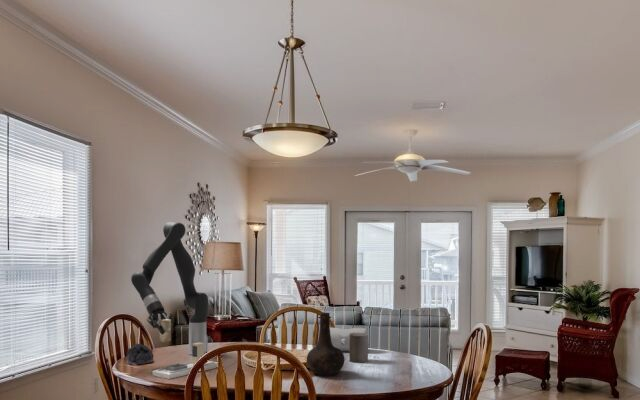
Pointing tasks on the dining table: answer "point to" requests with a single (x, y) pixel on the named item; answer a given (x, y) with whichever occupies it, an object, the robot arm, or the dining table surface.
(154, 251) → the robot arm
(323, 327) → the dark brown vase
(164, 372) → the board
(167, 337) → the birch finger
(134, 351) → the crystal cluster
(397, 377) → the dining table surface
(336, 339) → the tank
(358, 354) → the pillar candle
